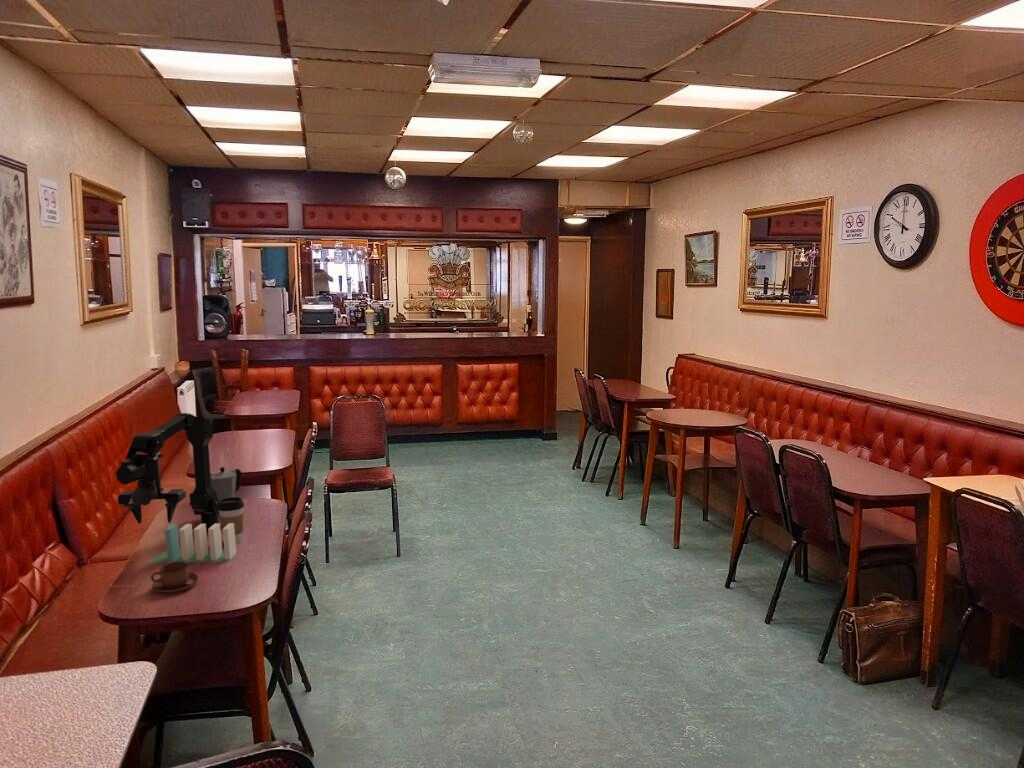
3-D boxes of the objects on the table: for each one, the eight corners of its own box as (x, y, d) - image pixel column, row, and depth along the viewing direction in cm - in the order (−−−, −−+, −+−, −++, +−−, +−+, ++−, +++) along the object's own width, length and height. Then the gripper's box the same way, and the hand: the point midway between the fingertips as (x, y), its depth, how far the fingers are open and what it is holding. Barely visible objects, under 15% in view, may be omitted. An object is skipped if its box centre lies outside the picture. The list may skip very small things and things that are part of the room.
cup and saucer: (157, 600, 202) (155, 579, 201) (149, 585, 212) (146, 565, 211) (203, 588, 209) (201, 568, 208) (192, 574, 219) (191, 555, 218)
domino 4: (217, 553, 233) (214, 523, 231) (222, 553, 233) (219, 523, 231) (210, 559, 228) (208, 529, 226) (215, 559, 228) (213, 529, 226)
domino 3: (203, 553, 233) (200, 523, 231) (208, 553, 233) (205, 523, 231) (196, 560, 228) (193, 529, 226) (201, 559, 228) (198, 529, 226)
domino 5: (231, 553, 233) (228, 523, 231) (236, 553, 233) (233, 523, 231) (225, 559, 228) (222, 529, 226) (230, 559, 228) (227, 529, 226)
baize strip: (160, 554, 235) (160, 552, 235) (239, 553, 234) (239, 551, 234) (148, 564, 227) (148, 562, 227) (229, 563, 226) (229, 561, 226)
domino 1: (175, 554, 233) (172, 524, 232) (180, 554, 233) (177, 524, 231) (167, 560, 228) (164, 529, 227) (172, 560, 228) (169, 529, 227)
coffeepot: (221, 521, 264) (217, 473, 261) (202, 518, 268) (198, 470, 266) (253, 508, 278) (249, 462, 275) (235, 505, 282) (231, 460, 279)
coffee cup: (216, 547, 239) (212, 503, 237) (225, 538, 248) (221, 495, 245) (242, 547, 240) (238, 503, 237) (250, 537, 248) (247, 495, 246)
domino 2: (189, 553, 233) (186, 523, 231) (194, 553, 233) (191, 523, 231) (182, 560, 228) (179, 529, 227) (187, 560, 228) (184, 529, 226)
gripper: (105, 483, 218) (111, 533, 220) (168, 481, 218) (173, 531, 220) (124, 472, 229) (129, 520, 231) (184, 471, 229) (189, 518, 231)
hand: (154, 522), depth 228 cm, fingers open, 9 cm apart
